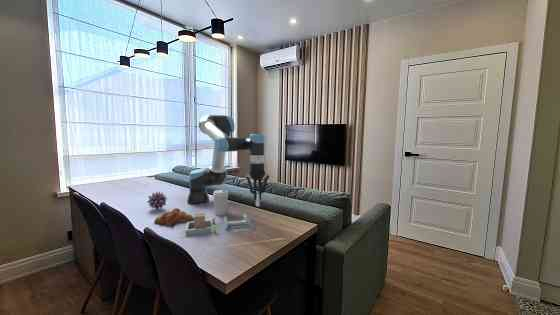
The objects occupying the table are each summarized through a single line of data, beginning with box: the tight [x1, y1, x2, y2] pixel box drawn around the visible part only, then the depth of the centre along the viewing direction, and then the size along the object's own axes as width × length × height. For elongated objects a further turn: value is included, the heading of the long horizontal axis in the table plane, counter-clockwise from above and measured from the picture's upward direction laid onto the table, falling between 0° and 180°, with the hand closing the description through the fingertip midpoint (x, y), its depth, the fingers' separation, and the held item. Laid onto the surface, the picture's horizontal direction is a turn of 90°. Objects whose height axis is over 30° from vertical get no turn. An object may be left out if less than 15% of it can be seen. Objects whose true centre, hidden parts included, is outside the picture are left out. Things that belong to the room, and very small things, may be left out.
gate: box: [223, 213, 248, 230], centre depth 128 cm, size 8×12×5 cm
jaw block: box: [193, 211, 206, 229], centre depth 123 cm, size 6×5×8 cm
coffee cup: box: [212, 189, 229, 216], centre depth 147 cm, size 10×10×15 cm
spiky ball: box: [146, 191, 168, 210], centre depth 156 cm, size 12×12×12 cm
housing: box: [179, 216, 255, 239], centre depth 126 cm, size 16×36×4 cm, turn 107°
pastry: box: [153, 207, 194, 227], centre depth 135 cm, size 17×15×8 cm
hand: (257, 205), depth 131 cm, fingers closed
